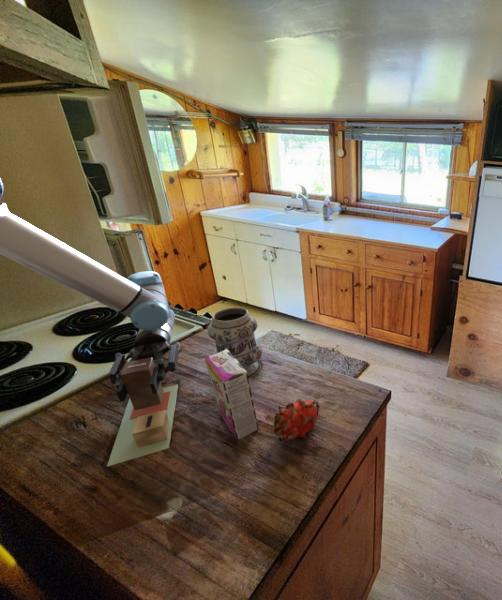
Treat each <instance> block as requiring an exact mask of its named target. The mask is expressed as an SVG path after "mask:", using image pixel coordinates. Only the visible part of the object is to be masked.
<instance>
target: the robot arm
mask: <svg viewBox="0 0 502 600" xmlns="http://www.w3.org/2000/svg"><path fill="white" fill-rule="evenodd" d="M3 194H4V183H3V181H2V178H1V177H0V255H1V256H4V257H5V258H6V259H9V260H12V261H14V262H15V263H17V264H20V265H21V266H23V267H26V268H27V269H30V270H32V271H33V272H36V273H37V274H39V275H42V276H44V277H46V278H48V279H50V280H52V281H54V282H56V283H58V284H60V285H62V286H64V287H66V288H68V289H70V290H71V291H75V292H77V293H78V294H80V295H83V296H85V297H87V298H89V299H91V300H93V301H95V302H97V303H99V304H100V305H103V306H105V307H107V308H109V309H111V310H113V311H115V312H118V313H119V314H121V315H123V316H125V317H127V318H129V319H130V322H131V323H132V325H133V326H134V327H135V328H137V329H138V332H137V334H136V336H135V340H134V342H133V345H132V348H131V349H130V350H129V351H128V352H127V353H123V354H122V353H121V352H117V353H115V354H114V356H115V359H114V362H113V364H112V366H111V368H110V370H109V371H108V374H107V376H108V378H109V380H110V383H111V385H114V386H115V389H116V395H117V397H118V400H119V402H120V403H122V402H126V399H127V396H128V392H127V390H126V387H125V385H124V382H123V380H122V377H121V373H122V370H123V368H124V365H125V363H126V362H130V361H136V360H141V359H146V358H151V357H152V358H153V361H155V362H156V364H157V366H155V368H154V370H153V374H152V377H151V381H150V387H151V390H152V392H153V394H156V393H157V392H158V388H159V383H160V381H161V382H164V381H165V380H166V377H167V374H168V373H169V372H176V370H177V367H178V366H177V365H178V359H179V355H180V353H181V352H182V348H181V344H180V342H179V341H177V342H174V343H173V344H171V338H172V334H173V330H174V327H175V323H176V316H175V312H174V311H173V310H172V308H171V307H170V304H169V302H168V298H167V293H166V290H165V286H164V282H163V280H162V278H161V275H160V274H159V273H158V272H156V271H153V270H152V271H149V270H148V271H147V270H146V271H139V272H135V273H133V274H130V275H129V276H128V277H127V278H126V277H125V276H122V275H121V274H119V273H117V272H116V271H114V270H113V269H110V268H109V267H107V266H105V265H104V264H101V263H100V262H98V261H96V260H94V259H92V258H91V257H89V256H87V255H85V254H84V253H82V252H80V251H78V250H77V249H75V248H73V247H72V246H69V245H68V244H66V243H65V242H62V241H61V240H59V239H58V238H56V237H54V236H52V235H50V234H49V233H47V232H45V231H43V230H42V229H40V228H38V227H36V226H35V225H33V224H31V223H29V222H28V221H26V220H24V219H22V218H20V217H18V216H17V215H16V214H13V213H11V212H10V210H9V208H8V205H7V204H6V202H3V201H2V200H1V199H2V198H3ZM167 353H168V359H167V363H165V362H164V360H163V356H164V355H166V354H167Z"/></svg>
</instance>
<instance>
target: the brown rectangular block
mask: <svg viewBox="0 0 502 600" xmlns="http://www.w3.org/2000/svg"><path fill="white" fill-rule="evenodd" d="M129 361H130V360H129ZM129 361H127V362H126V363H125V365H124V368H123V370H122V373H121V377H122V380H123V382H124V385H125V387H126V390H127V392H128V393H127V396H128V397H129V398H130V400H131V402H132V405H133V407H134V410H139V409H143V408H147V407H151V406H155V405H159V404H161V402H162V397H163V392H164V390H163V387H164V386H163V385H162V381H160V383H159V388H158V392H157V393H156V394H153V392H152V390H151V387H150V381H151V377H152V374H153V370H154V368H155V367H156V364H155V360H153V358H152V357H151V358H146V359H141V360H136V361H130V362H129Z"/></svg>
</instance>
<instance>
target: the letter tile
mask: <svg viewBox="0 0 502 600" xmlns="http://www.w3.org/2000/svg"><path fill="white" fill-rule="evenodd" d="M169 426H170V422H169V419H168V416H167V414H166V411H165V410H163V411H159V412H155V413H151V414H147V415H143V416H139V417H137V419H136V423H135V426H134V430H133V433H132V434H133V437H134V439H135V441H136V444H137V446H138V448H140V447H144V446H147V445H151V444H154V443H158V442H161V441H165V440H167V439H168V432H169Z"/></svg>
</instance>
